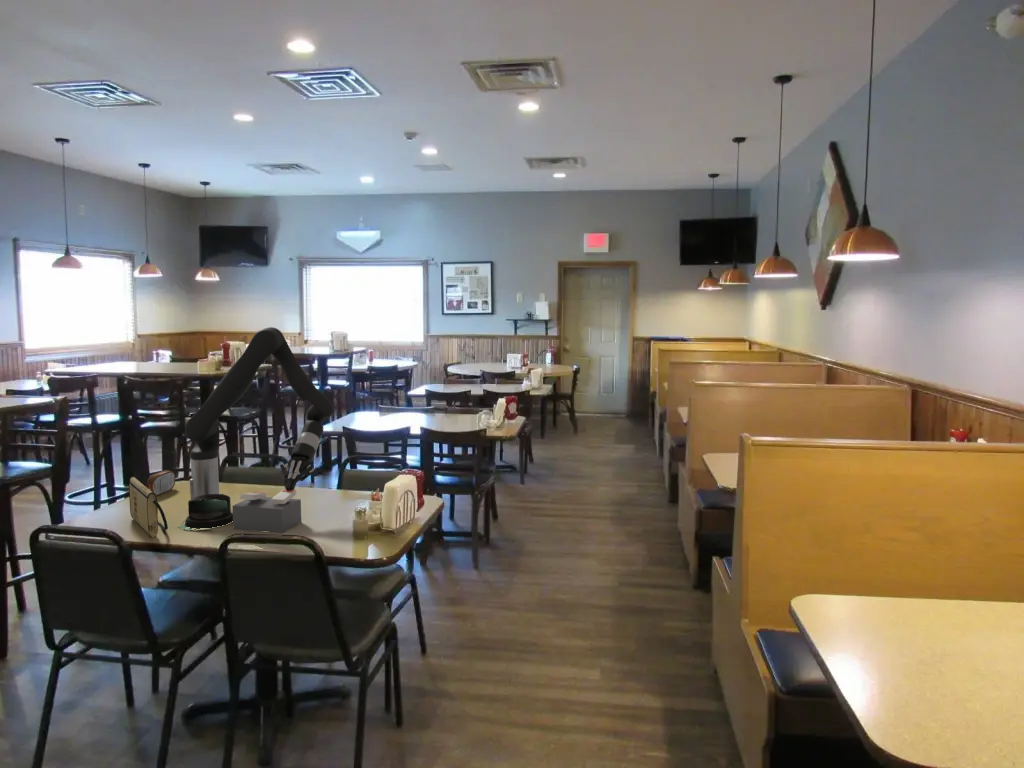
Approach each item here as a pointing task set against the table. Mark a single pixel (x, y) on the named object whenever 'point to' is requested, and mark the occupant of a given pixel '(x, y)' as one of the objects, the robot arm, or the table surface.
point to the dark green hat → (208, 511)
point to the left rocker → (253, 496)
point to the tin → (161, 482)
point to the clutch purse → (145, 507)
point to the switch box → (266, 515)
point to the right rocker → (283, 496)
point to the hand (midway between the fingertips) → (288, 490)
